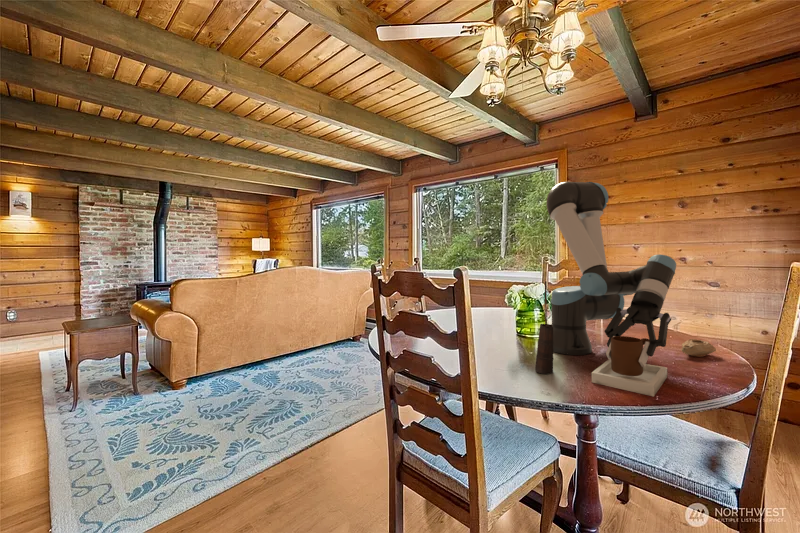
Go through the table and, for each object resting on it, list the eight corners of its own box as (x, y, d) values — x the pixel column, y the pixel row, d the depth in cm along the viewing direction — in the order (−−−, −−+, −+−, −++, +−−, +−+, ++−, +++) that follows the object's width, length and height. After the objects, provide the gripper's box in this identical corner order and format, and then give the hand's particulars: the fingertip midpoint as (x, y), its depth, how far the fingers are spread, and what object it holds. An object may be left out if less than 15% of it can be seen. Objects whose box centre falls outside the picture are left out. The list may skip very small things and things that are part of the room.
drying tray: (591, 382, 98) (591, 372, 98) (610, 366, 111) (610, 357, 111) (653, 396, 88) (653, 385, 88) (667, 377, 101) (667, 367, 101)
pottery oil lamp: (670, 354, 121) (667, 334, 123) (694, 362, 124) (691, 342, 127) (697, 351, 113) (694, 330, 116) (723, 360, 116) (719, 339, 119)
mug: (641, 365, 103) (640, 334, 103) (664, 374, 96) (664, 340, 95) (604, 368, 101) (604, 336, 101) (625, 377, 94) (625, 343, 94)
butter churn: (559, 380, 100) (559, 283, 99) (525, 374, 106) (524, 282, 104) (564, 370, 108) (563, 281, 107) (532, 366, 113) (531, 280, 112)
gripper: (694, 309, 99) (672, 378, 90) (616, 302, 116) (592, 359, 107) (688, 292, 96) (664, 361, 87) (608, 287, 113) (582, 345, 104)
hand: (624, 360), depth 97 cm, fingers closed on mug, 8 cm apart
